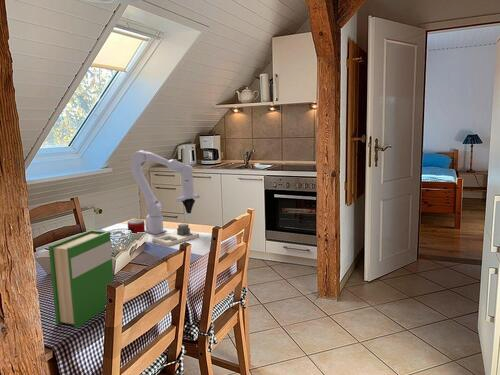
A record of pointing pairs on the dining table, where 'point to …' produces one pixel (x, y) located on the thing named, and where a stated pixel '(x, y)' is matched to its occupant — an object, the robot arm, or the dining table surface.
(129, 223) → the canned food
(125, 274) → the dining table surface
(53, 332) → the dining table surface
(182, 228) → the plug
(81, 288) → the hardback book
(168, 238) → the socket plate
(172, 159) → the robot arm
